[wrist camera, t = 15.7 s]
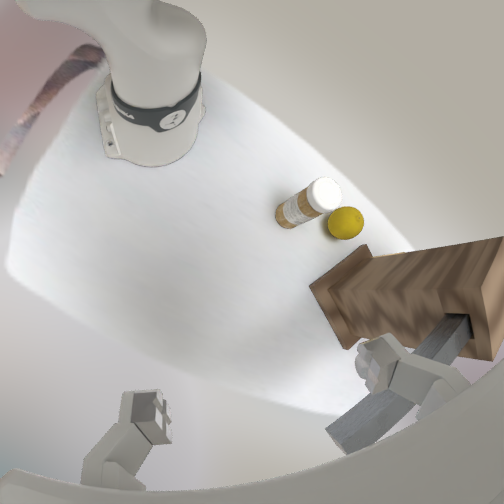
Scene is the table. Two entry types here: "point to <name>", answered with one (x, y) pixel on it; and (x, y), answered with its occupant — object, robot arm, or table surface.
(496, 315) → the block
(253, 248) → the table surface
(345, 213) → the lemon
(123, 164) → the table surface
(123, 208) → the table surface
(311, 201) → the sprinkles bottle
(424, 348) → the shaft
